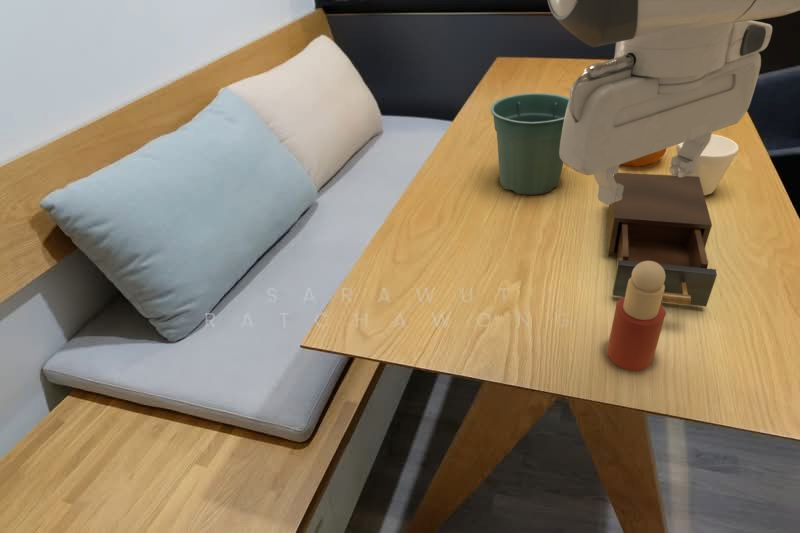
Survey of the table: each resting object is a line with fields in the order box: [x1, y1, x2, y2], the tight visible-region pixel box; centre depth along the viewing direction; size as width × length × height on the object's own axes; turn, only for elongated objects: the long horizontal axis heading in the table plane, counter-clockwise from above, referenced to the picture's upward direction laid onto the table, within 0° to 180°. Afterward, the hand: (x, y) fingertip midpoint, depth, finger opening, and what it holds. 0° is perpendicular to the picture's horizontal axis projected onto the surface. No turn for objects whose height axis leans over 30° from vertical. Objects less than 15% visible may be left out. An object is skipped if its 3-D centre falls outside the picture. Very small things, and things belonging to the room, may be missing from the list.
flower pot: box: [490, 92, 569, 196], centre depth 104 cm, size 16×16×16 cm
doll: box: [606, 261, 666, 371], centre depth 65 cm, size 6×6×15 cm
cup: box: [676, 133, 740, 197], centre depth 98 cm, size 10×10×9 cm
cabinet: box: [607, 172, 713, 258], centre depth 88 cm, size 16×14×8 cm
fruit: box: [622, 148, 668, 167], centre depth 110 cm, size 12×12×10 cm
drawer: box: [611, 222, 718, 307], centre depth 77 cm, size 19×12×6 cm, turn 162°
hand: (646, 187), depth 53 cm, fingers open, 8 cm apart
